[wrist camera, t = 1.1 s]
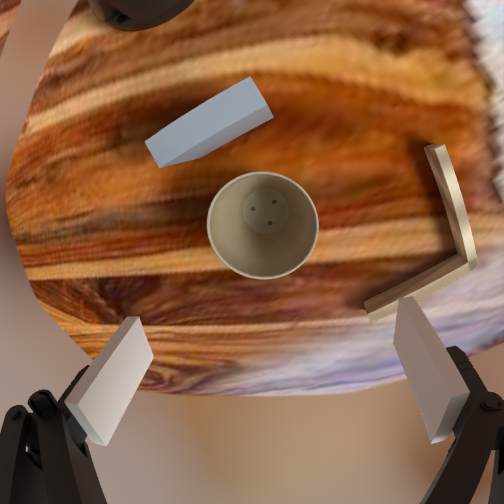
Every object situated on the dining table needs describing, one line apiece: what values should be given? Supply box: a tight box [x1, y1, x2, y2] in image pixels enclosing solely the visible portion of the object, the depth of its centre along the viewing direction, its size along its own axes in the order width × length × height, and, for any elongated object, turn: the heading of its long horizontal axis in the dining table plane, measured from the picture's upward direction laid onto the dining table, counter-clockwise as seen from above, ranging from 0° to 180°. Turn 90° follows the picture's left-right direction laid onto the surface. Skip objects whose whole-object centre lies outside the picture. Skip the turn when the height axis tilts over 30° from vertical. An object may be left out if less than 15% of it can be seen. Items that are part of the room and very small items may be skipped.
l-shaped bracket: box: [363, 144, 478, 323], centre depth 32 cm, size 16×16×3 cm
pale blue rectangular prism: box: [145, 77, 274, 168], centre depth 26 cm, size 2×9×12 cm, turn 119°
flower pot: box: [207, 171, 319, 279], centre depth 31 cm, size 10×10×7 cm
